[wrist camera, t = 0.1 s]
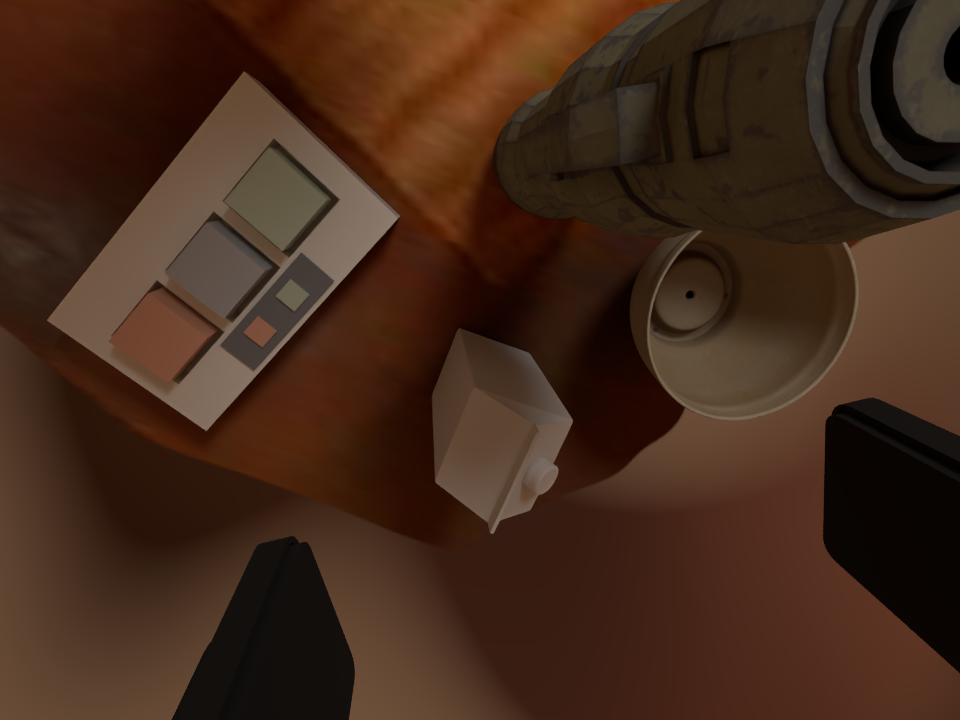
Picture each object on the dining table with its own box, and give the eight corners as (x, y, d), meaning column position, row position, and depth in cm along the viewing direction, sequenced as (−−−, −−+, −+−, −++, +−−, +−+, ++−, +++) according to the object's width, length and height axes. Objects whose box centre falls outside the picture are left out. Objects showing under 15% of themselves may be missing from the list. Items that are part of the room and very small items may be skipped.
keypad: (76, 310, 42) (43, 321, 39) (259, 81, 38) (242, 70, 35) (221, 413, 46) (204, 433, 43) (400, 216, 43) (398, 218, 39)
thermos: (460, 126, 41) (614, -145, 8) (600, 79, 41) (1347, -386, 8) (492, 234, 44) (703, 369, 11) (623, 191, 44) (1236, 194, 11)
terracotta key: (126, 332, 41) (108, 341, 38) (164, 287, 40) (148, 293, 38) (181, 372, 42) (167, 383, 40) (219, 329, 41) (207, 337, 39)
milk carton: (431, 395, 48) (435, 518, 30) (458, 326, 46) (480, 413, 28) (500, 418, 49) (544, 548, 31) (529, 352, 48) (594, 450, 30)
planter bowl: (750, 371, 51) (833, 416, 40) (591, 375, 49) (636, 424, 39) (781, 200, 46) (885, 203, 35) (605, 199, 44) (661, 202, 34)
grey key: (179, 268, 40) (164, 273, 37) (220, 220, 39) (206, 222, 36) (234, 311, 41) (223, 319, 39) (274, 266, 40) (265, 270, 38)
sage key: (236, 200, 38) (224, 201, 36) (278, 149, 38) (268, 147, 35) (290, 247, 40) (282, 251, 38) (332, 199, 39) (326, 200, 37)
